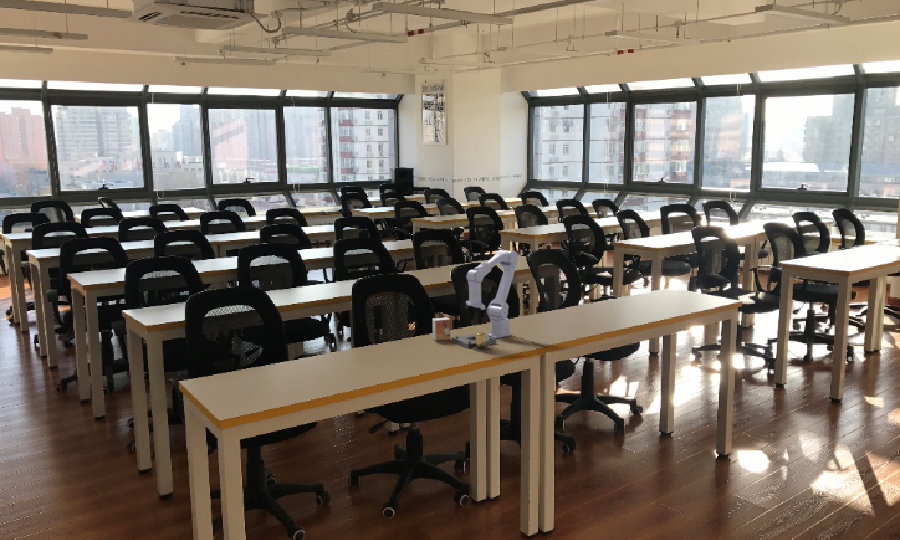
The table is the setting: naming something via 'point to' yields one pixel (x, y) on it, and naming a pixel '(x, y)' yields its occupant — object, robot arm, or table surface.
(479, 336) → the brass cylinder
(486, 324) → the table surface
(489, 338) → the housing
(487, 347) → the mat
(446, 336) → the small box
